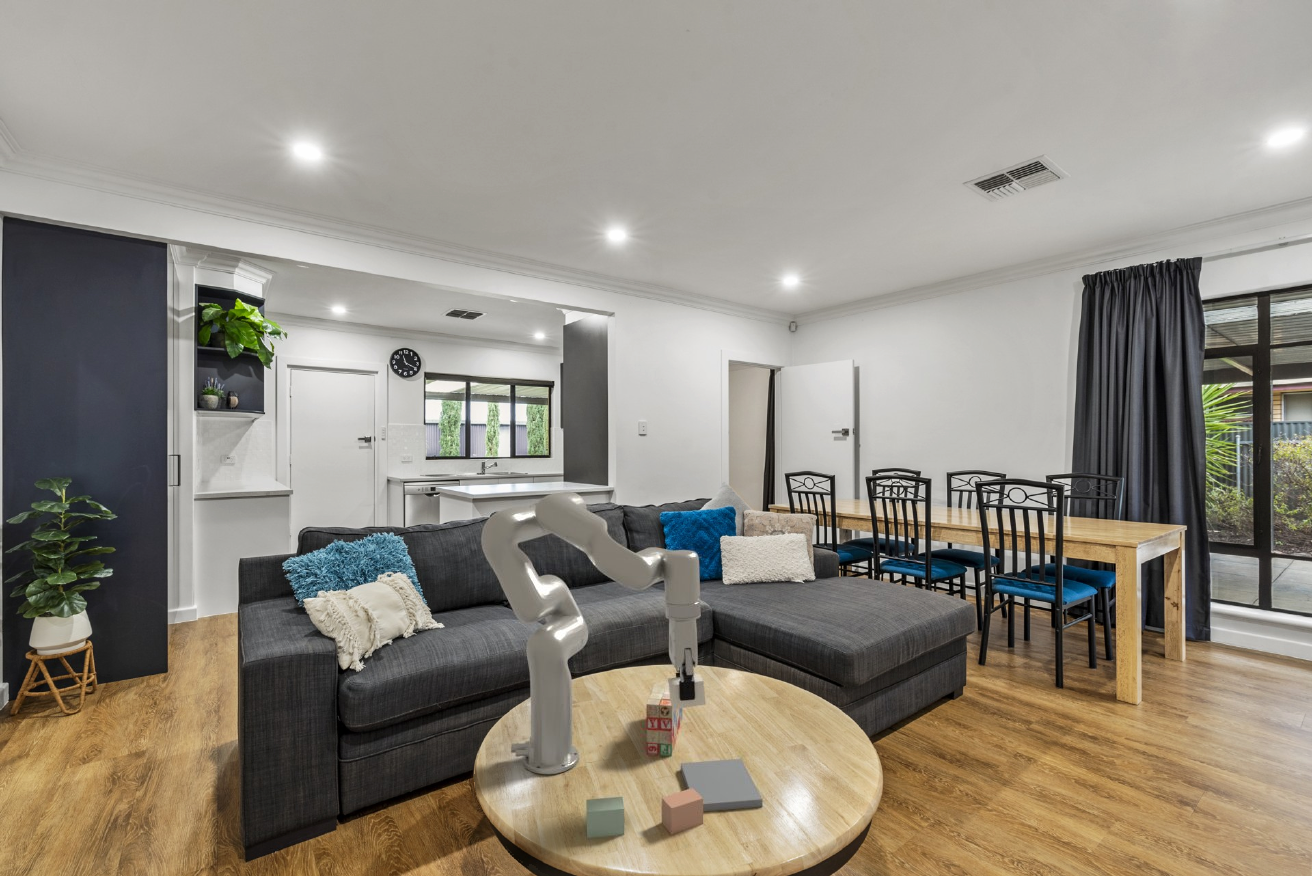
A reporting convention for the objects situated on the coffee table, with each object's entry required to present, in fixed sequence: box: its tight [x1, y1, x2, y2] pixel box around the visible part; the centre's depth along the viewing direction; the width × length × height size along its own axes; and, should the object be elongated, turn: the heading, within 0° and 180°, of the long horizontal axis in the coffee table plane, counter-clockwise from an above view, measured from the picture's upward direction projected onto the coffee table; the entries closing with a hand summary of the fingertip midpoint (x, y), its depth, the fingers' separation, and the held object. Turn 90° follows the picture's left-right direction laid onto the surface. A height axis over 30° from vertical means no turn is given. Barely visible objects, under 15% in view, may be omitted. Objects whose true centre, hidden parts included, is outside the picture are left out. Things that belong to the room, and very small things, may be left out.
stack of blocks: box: [645, 681, 683, 757], centre depth 157 cm, size 21×6×12 cm, turn 171°
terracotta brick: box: [661, 788, 704, 835], centre depth 120 cm, size 7×4×5 cm, turn 118°
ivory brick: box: [667, 673, 706, 709], centre depth 132 cm, size 7×4×5 cm, turn 97°
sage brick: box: [585, 796, 625, 839], centre depth 118 cm, size 7×4×5 cm, turn 98°
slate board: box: [680, 758, 763, 813], centre depth 133 cm, size 14×16×2 cm
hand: (685, 694), depth 132 cm, fingers closed on ivory brick, 3 cm apart
